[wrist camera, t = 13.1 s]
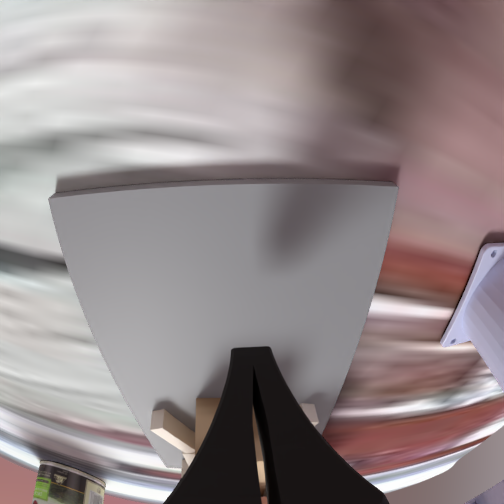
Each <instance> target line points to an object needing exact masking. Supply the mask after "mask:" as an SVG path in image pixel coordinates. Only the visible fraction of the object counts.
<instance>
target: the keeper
mask: <svg viewBox="0 0 504 504" xmlns="http://www.w3.org/2000/svg"><path fill="white" fill-rule="evenodd" d="M398 188H399V187H398V186H397V185H396V184H394V183H393V182H385V181H366V180H340V179H227V180H200V181H181V182H164V183H150V184H137V185H125V186H114V187H104V188H95V189H86V190H77V191H69V192H61V193H54V194H53V195H52V196H51V197H50V198H49V199H48V200H49V205H50V209H51V213H52V217H53V221H54V224H55V228H56V232H57V235H58V239H59V242H60V246H61V249H62V252H63V256H64V259H65V262H66V265H67V268H68V271H69V274H70V277H71V280H72V283H73V286H74V289H75V291H76V294H77V297H78V299H79V302H80V305H81V307H82V310H83V312H84V315H85V317H86V320H87V322H88V325H89V327H90V329H91V332H92V334H93V336H94V339H95V341H96V343H97V345H98V347H99V350H100V352H101V354H102V356H103V358H104V360H105V362H106V365H107V367H108V369H109V371H110V373H111V375H112V377H113V379H114V381H115V383H116V384H117V386H118V388H119V390H120V392H121V394H122V396H123V398H124V399H125V401H126V403H127V405H128V407H129V408H130V410H131V412H132V414H133V415H134V417H135V419H136V421H137V422H138V424H139V426H140V427H141V429H142V430H143V432H144V434H145V435H146V437H147V439H148V440H149V442H150V443H151V445H152V446H153V448H154V449H155V451H156V452H157V454H158V455H159V457H160V458H161V460H162V461H163V463H164V464H165V466H166V467H167V468H182V477H183V475H184V474H185V472H186V471H187V469H188V468H189V466H190V464H191V462H192V461H193V459H194V457H195V424H196V398H221V396H222V392H223V389H224V386H225V382H226V379H227V374H228V370H229V365H230V357H231V349H233V348H239V347H259V346H269V347H270V348H271V349H272V352H273V355H274V358H275V360H276V363H277V365H278V367H279V369H280V372H281V374H282V376H283V378H284V380H285V381H286V383H287V385H288V387H289V389H290V390H291V392H292V394H293V396H294V397H295V399H296V401H297V402H298V404H299V405H300V407H301V408H302V410H303V411H304V413H305V414H306V416H307V417H308V419H309V420H310V421H311V423H312V424H313V425H314V427H315V428H316V429H317V430H318V432H319V433H320V434H321V435H322V433H323V431H324V429H325V426H326V424H327V422H328V420H329V417H330V415H331V413H332V410H333V408H334V406H335V403H336V401H337V398H338V396H339V393H340V391H341V388H342V386H343V383H344V381H345V378H346V375H347V373H348V370H349V367H350V365H351V362H352V359H353V357H354V354H355V351H356V348H357V345H358V342H359V339H360V336H361V333H362V330H363V327H364V324H365V321H366V318H367V315H368V311H369V308H370V305H371V302H372V298H373V295H374V291H375V288H376V284H377V281H378V277H379V273H380V269H381V266H382V262H383V258H384V254H385V250H386V246H387V241H388V237H389V233H390V228H391V224H392V219H393V214H394V209H395V204H396V199H397V194H398ZM182 477H181V478H182ZM167 498H168V497H167ZM261 500H262V504H267V494H266V485H265V490H264V495H263V497H261Z"/></svg>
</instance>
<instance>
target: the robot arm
mask: <svg viewBox="0 0 504 504" xmlns="http://www.w3.org/2000/svg"><path fill="white" fill-rule="evenodd" d="M470 340H471V342H472V343H473V345H474V346H475V348H476V349H477V351H478V352H479V354H480V355H481V357H482V358H483V360H484V361H485V363H486V364H487V366H488V367H489V369H490V371H491V372H492V374H493V375H494V377H495V379H496V380H497V382H498V383H499V385H500V387H501V388H502V390H503V392H504V243H488V244H485V245H484V246H483V247H482V248H481V250H480V253H479V256H478V259H477V261H476V264H475V266H474V269H473V272H472V274H471V277H470V279H469V281H468V284H467V286H466V289H465V291H464V293H463V296H462V298H461V300H460V302H459V304H458V307H457V309H456V311H455V313H454V315H453V317H452V319H451V321H450V323H449V325H448V327H447V329H446V331H445V333H444V335H443V337H442V339H441V342H440V343H441V345H442V347H448V346H452V345H456V344H460V343H463V342H467V341H470ZM253 408H254V414H255V419H256V424H257V430H258V435H259V440H260V445H261V450H262V456H263V462H264V472H265V483H266V494H267V504H389V502H388V500H387V498H386V496H385V495H384V493H383V492H382V491H380V490H379V489H378V488H376V487H375V486H374V485H372V484H371V483H370V482H368V481H367V480H366V479H365V478H363V477H362V476H361V475H360V474H359V473H358V472H356V471H355V470H354V469H353V468H352V467H351V466H350V465H349V464H348V463H347V462H346V461H345V460H344V459H343V458H342V457H341V456H340V455H339V454H338V453H337V452H336V451H335V450H334V449H333V448H332V447H331V446H330V445H329V444H328V442H327V441H326V440H325V439H324V438H323V437H322V435H321V434H320V433H319V432H318V430H317V429H316V428H315V427H314V425H313V424H312V423H311V421H310V420H309V419H308V417H307V416H306V414H305V413H304V411H303V410H302V408H301V407H300V405H299V404H298V402H297V401H296V399H295V397H294V396H293V394H292V392H291V390H290V389H289V387H288V385H287V383H286V381H285V380H284V378H283V376H282V374H281V372H280V369H279V367H278V365H277V363H276V360H275V358H274V355H273V352H272V349H271V348H270V347H269V346H259V347H239V348H233V349H231V357H230V365H229V370H228V374H227V379H226V382H225V386H224V389H223V392H222V396H221V399H220V402H219V405H218V407H217V410H216V412H215V415H214V418H213V420H212V423H211V425H210V427H209V430H208V432H207V434H206V436H205V438H204V440H203V442H202V444H201V446H200V448H199V450H198V452H197V453H196V455H195V457H194V459H193V461H192V462H191V464H190V466H189V468H188V469H187V471H186V472H185V474H184V475H183V477H182V478H181V480H180V481H179V483H178V484H177V486H176V487H175V489H174V490H173V492H172V493H171V494H170V496H169V497H168V498H167V499H166V501H165V502H164V503H163V504H262V500H261V492H260V484H259V476H258V468H257V459H256V450H255V441H254V432H253ZM464 504H504V480H502V481H501V482H499V483H498V484H496V485H495V486H493V487H492V488H490V489H488V490H487V491H485V492H483V493H482V494H480V495H478V496H477V497H475V498H473V499H471V500H470V501H468V502H466V503H464Z"/></svg>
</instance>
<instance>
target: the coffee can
mask: <svg viewBox="0 0 504 504" xmlns="http://www.w3.org/2000/svg"><path fill="white" fill-rule="evenodd" d="M105 487H106V485H105V483H104V482H102V481H101V480H99V479H98V478H96V477H94V476H92V475H89V474H87V473H85V472H82V471H80V470H77V469H75V468H72V467H69V466H66V465H63V464H60V463H56V462H52V461H45V460H43V461H40V467H39V471H38V476H37V481H36V487H35V491H34V497H33V502H32V504H103V501H104V492H105Z"/></svg>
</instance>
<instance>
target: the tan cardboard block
mask: <svg viewBox="0 0 504 504" xmlns="http://www.w3.org/2000/svg"><path fill="white" fill-rule="evenodd" d="M220 399H221V398H196V424H195V455H196V453H197V452H198V450H199V448H200V446H201V444H202V442H203V440H204V438H205V436H206V434H207V432H208V430H209V427H210V425H211V423H212V420H213V418H214V415H215V412H216V410H217V407H218V405H219V402H220ZM253 432H254V441H255V450H256V459H257V468H258V476H259V484H260V492H261V497H263V495H264V490H265V485H266V483H265V472H264V462H263V456H262V450H261V445H260V440H259V435H258V430H257V424H256V419H255V414H254V408H253Z"/></svg>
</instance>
